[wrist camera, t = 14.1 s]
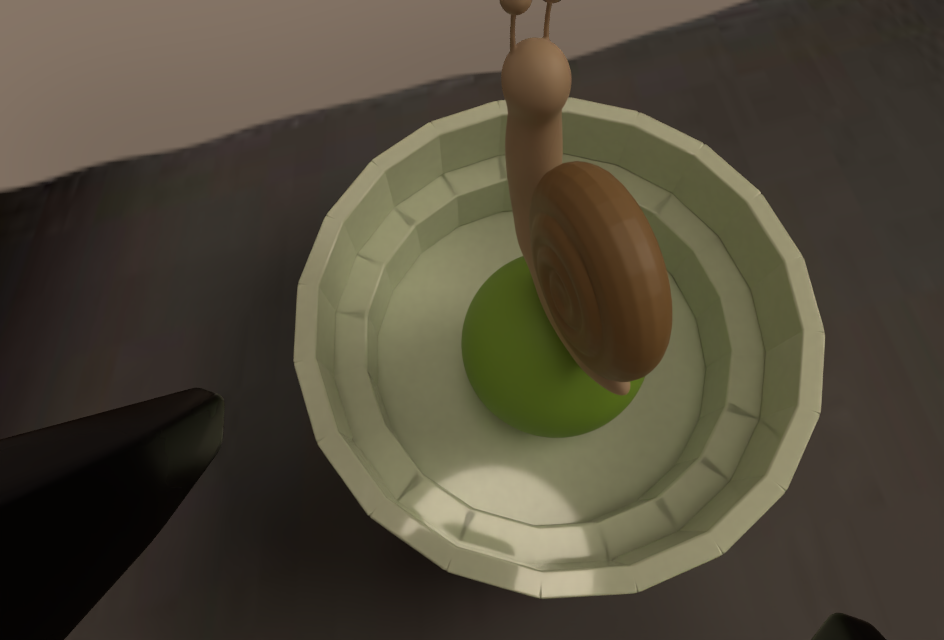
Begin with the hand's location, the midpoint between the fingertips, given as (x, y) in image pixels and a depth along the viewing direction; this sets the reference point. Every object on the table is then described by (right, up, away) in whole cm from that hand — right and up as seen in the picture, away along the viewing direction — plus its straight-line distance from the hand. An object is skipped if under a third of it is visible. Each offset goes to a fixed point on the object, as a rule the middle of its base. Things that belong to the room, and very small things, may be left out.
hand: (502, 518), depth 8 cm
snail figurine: (+2, +2, +11) cm, 12 cm away
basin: (+2, +1, +12) cm, 12 cm away
